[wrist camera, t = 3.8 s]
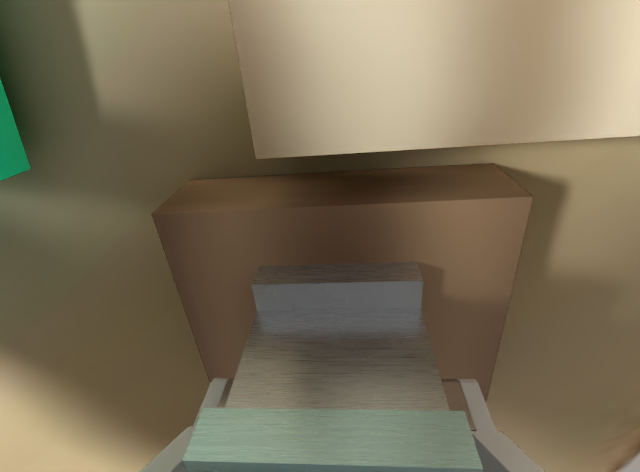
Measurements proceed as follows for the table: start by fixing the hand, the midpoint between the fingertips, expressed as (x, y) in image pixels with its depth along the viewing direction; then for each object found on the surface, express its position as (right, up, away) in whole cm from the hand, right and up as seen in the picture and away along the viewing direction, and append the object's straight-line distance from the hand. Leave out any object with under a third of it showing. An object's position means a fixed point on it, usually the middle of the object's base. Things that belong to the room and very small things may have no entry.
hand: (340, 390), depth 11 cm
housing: (0, +1, +2) cm, 2 cm away
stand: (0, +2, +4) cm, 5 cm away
